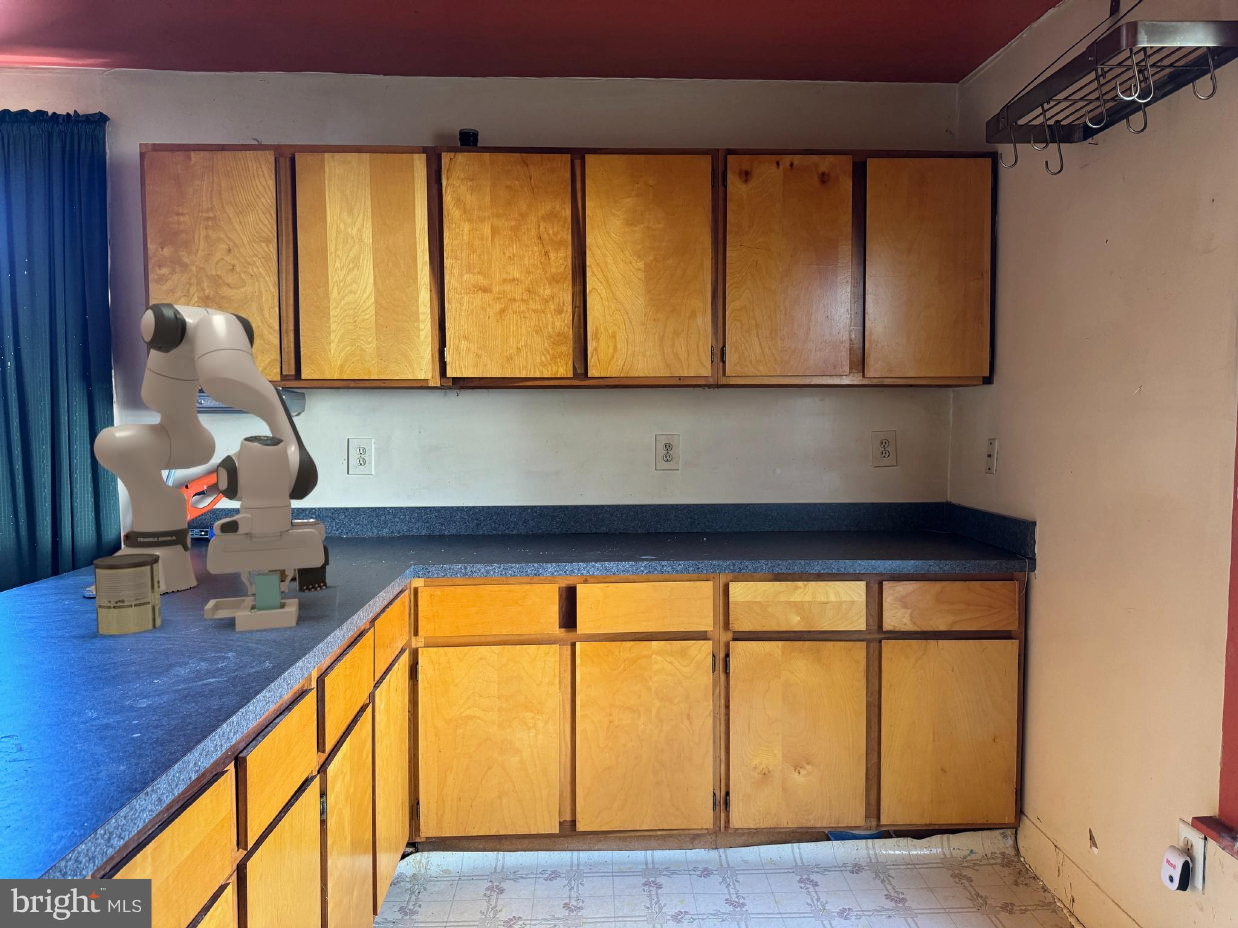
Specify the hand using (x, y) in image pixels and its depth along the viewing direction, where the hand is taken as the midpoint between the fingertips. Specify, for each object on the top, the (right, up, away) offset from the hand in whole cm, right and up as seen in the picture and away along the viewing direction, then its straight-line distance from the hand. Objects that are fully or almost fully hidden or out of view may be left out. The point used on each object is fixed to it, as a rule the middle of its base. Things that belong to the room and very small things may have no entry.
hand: (268, 593), depth 143 cm
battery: (-3, -5, +29) cm, 30 cm away
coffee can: (-24, -7, -3) cm, 26 cm away
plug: (0, -3, 0) cm, 3 cm away
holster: (-11, -6, +8) cm, 15 cm away
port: (0, -7, 0) cm, 7 cm away
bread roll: (-16, -5, +48) cm, 50 cm away
